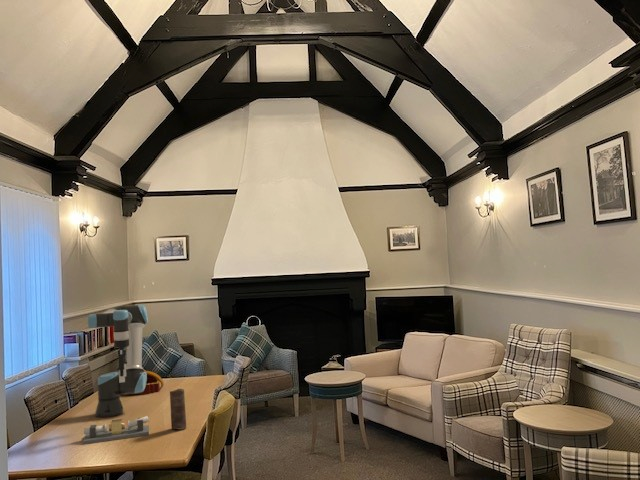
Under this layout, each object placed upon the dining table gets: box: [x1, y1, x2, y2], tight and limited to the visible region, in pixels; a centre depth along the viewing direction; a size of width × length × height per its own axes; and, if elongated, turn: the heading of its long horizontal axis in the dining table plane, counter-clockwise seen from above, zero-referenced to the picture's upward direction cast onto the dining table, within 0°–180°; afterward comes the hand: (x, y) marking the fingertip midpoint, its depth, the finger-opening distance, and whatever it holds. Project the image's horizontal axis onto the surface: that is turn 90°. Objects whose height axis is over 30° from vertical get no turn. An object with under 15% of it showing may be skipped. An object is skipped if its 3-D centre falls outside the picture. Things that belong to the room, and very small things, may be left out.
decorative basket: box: [120, 369, 165, 396], centre depth 354 cm, size 34×29×15 cm
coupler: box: [108, 418, 126, 435], centre depth 255 cm, size 7×4×6 cm, turn 108°
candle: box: [169, 388, 187, 430], centre depth 262 cm, size 8×7×20 cm
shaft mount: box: [82, 415, 150, 445], centre depth 255 cm, size 30×12×8 cm, turn 108°
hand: (122, 379), depth 271 cm, fingers open, 13 cm apart
